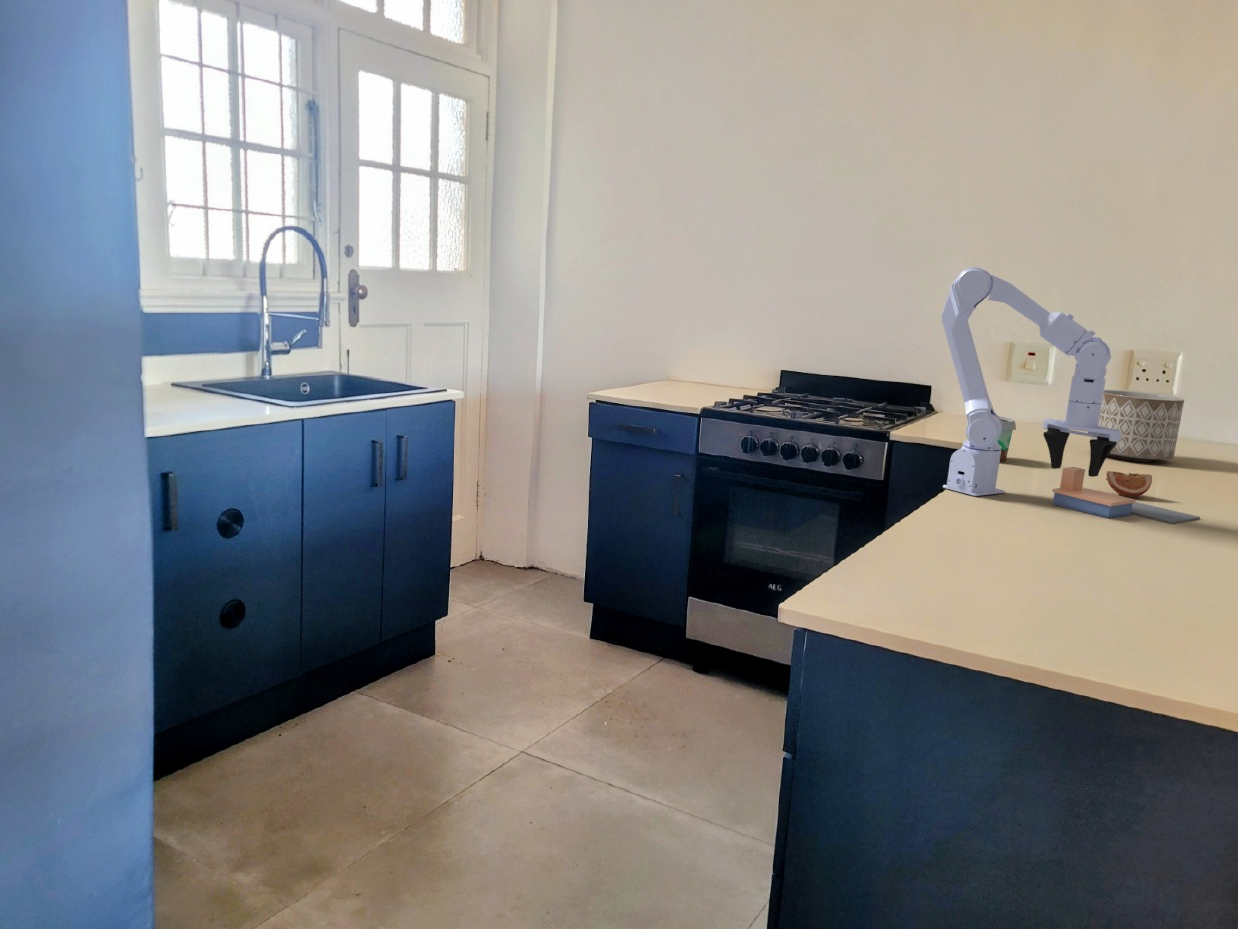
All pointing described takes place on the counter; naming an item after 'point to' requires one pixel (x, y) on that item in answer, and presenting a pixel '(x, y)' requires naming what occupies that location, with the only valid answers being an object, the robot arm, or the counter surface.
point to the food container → (1006, 436)
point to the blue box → (1092, 506)
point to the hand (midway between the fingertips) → (1074, 472)
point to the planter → (1142, 424)
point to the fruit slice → (1129, 483)
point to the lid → (1086, 489)
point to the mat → (1161, 513)
